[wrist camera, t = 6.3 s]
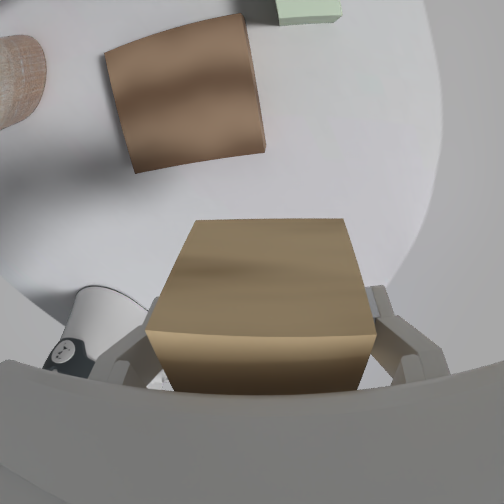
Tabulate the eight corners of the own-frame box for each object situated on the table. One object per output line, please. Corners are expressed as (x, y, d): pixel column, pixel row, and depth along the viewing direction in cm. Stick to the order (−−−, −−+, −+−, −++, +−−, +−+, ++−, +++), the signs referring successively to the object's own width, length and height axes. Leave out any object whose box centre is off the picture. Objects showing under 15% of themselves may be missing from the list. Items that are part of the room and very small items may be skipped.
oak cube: (330, 322, 14) (340, 428, 10) (215, 321, 15) (191, 423, 10) (342, 218, 11) (377, 334, 6) (195, 220, 12) (144, 329, 7)
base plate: (266, 145, 26) (264, 152, 24) (145, 164, 28) (135, 173, 26) (244, 17, 20) (240, 13, 18) (117, 52, 22) (104, 53, 20)
